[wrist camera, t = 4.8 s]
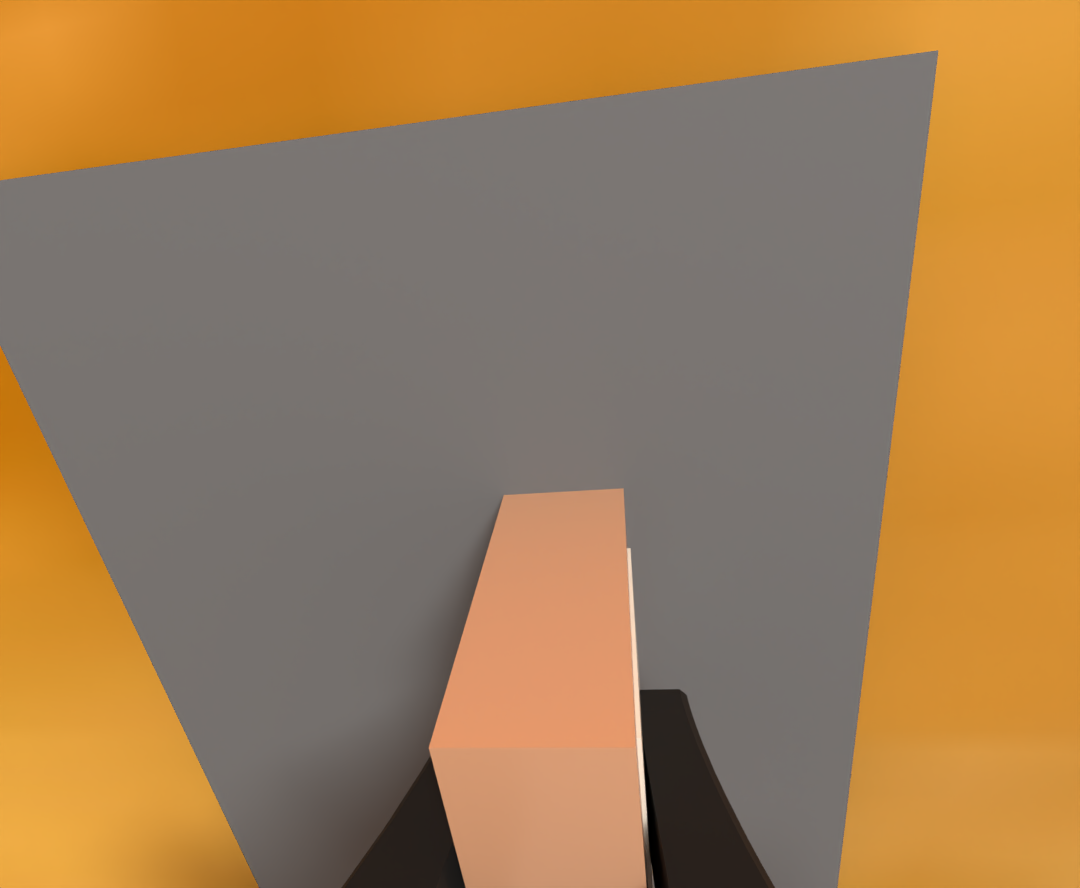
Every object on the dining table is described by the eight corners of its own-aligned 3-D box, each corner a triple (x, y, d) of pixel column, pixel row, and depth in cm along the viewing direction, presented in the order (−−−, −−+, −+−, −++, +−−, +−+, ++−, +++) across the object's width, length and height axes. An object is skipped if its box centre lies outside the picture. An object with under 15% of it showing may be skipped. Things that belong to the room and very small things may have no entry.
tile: (646, 781, 13) (667, 1107, 9) (549, 781, 14) (520, 1096, 9) (626, 487, 10) (642, 746, 6) (503, 494, 11) (428, 747, 6)
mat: (818, 959, 16) (825, 987, 16) (304, 937, 18) (294, 961, 18) (916, 56, 8) (937, 50, 8) (-37, 188, 10) (-74, 191, 9)
